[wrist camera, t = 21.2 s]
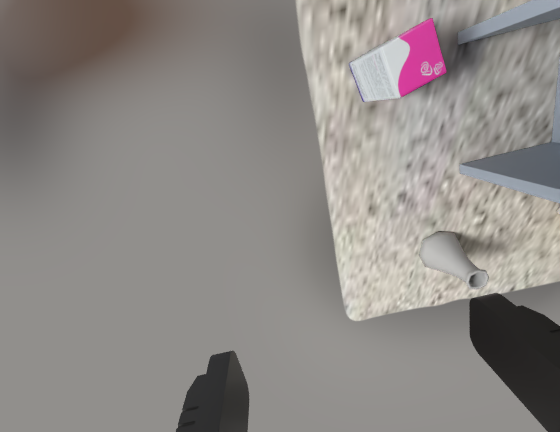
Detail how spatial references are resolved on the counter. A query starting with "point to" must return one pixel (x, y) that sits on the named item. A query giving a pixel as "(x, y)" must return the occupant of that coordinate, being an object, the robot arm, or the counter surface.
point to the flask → (451, 259)
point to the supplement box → (399, 64)
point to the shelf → (534, 160)
